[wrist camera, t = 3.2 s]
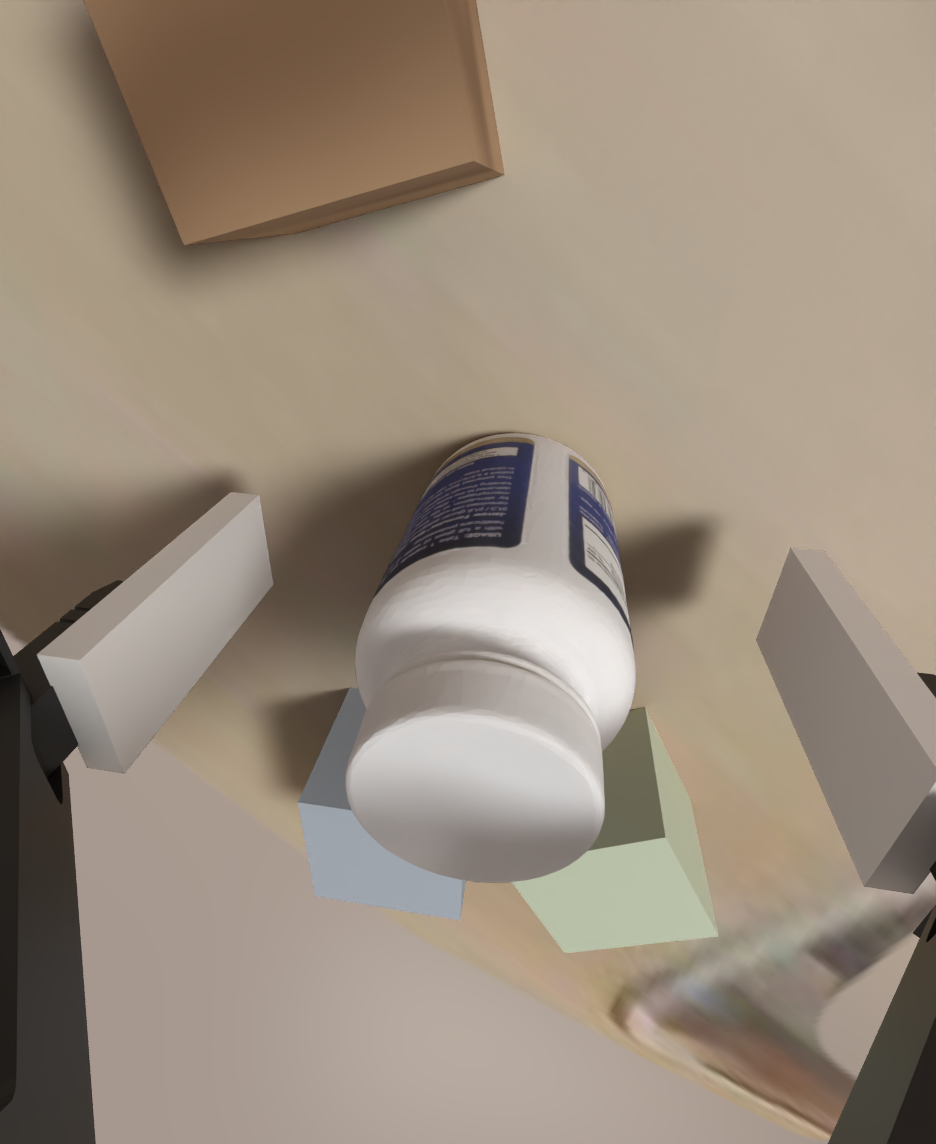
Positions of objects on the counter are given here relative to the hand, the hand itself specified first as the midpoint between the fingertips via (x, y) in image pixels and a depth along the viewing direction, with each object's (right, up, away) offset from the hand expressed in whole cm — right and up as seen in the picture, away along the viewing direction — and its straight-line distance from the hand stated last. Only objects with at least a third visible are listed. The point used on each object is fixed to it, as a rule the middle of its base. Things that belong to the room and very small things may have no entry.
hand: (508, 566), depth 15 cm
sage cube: (+4, -8, +7) cm, 11 cm away
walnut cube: (-3, +10, -3) cm, 11 cm away
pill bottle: (0, +1, +2) cm, 3 cm away
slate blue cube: (-3, -7, +8) cm, 11 cm away
